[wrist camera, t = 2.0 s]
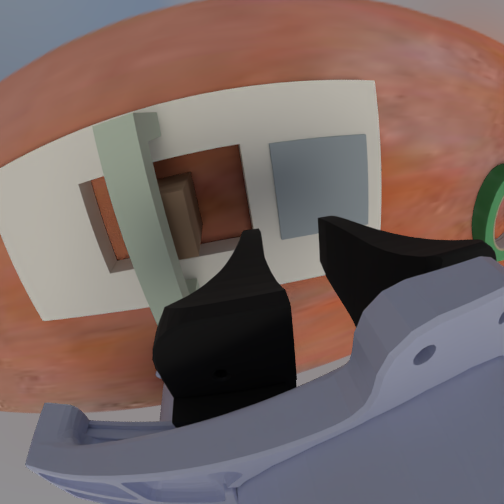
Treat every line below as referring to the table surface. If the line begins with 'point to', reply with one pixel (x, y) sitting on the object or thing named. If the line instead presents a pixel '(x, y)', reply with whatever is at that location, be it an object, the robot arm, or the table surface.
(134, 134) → the sliding bridge
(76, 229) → the puzzle board
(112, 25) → the table surface
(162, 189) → the walnut block
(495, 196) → the tape roll
